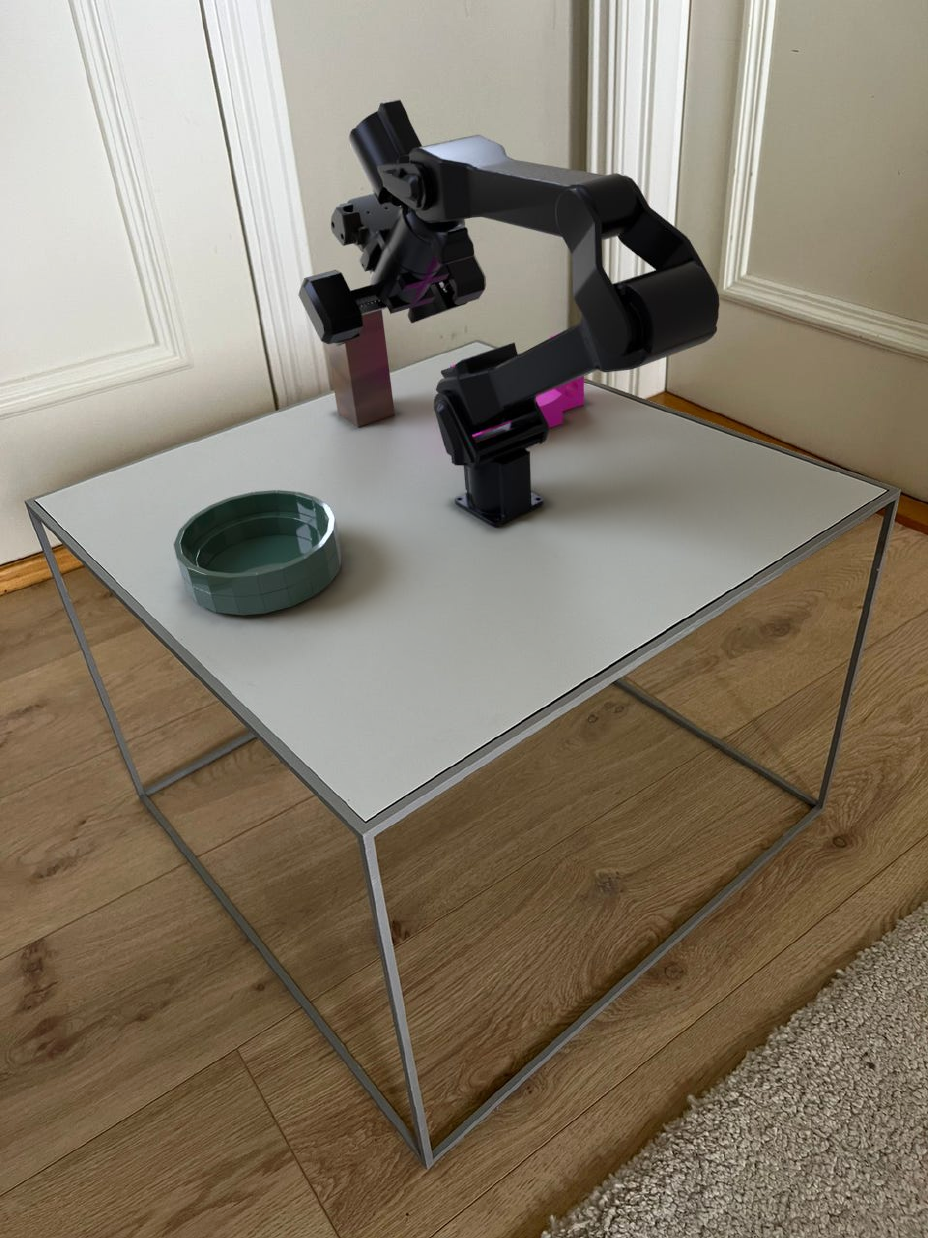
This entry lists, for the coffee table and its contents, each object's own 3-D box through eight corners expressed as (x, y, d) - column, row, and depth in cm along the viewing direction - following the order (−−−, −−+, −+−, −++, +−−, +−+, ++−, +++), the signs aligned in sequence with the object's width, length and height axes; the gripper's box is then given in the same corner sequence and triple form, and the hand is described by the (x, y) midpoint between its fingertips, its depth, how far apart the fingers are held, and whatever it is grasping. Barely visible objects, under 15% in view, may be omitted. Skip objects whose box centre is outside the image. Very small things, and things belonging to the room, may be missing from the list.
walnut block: (395, 414, 111) (381, 309, 103) (357, 427, 109) (341, 321, 101) (374, 400, 114) (360, 298, 107) (337, 413, 112) (320, 309, 105)
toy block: (483, 449, 103) (479, 384, 98) (455, 428, 107) (450, 365, 102) (596, 411, 108) (597, 348, 103) (565, 393, 112) (565, 331, 108)
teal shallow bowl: (371, 573, 85) (365, 531, 83) (230, 641, 79) (218, 598, 76) (293, 514, 95) (285, 474, 92) (161, 570, 88) (148, 529, 85)
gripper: (462, 150, 91) (414, 244, 105) (288, 190, 84) (262, 285, 98) (514, 252, 91) (458, 332, 105) (342, 300, 83) (308, 380, 97)
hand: (374, 330), depth 101 cm, fingers open, 9 cm apart
